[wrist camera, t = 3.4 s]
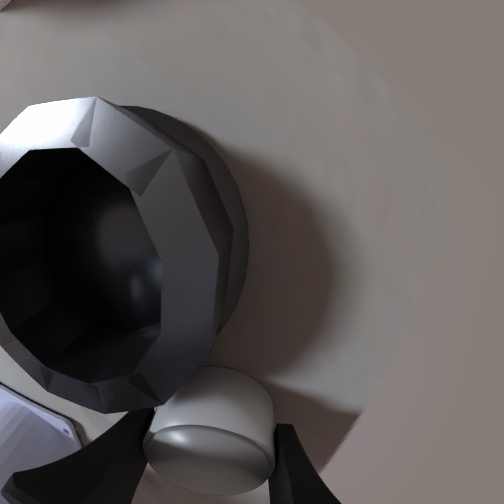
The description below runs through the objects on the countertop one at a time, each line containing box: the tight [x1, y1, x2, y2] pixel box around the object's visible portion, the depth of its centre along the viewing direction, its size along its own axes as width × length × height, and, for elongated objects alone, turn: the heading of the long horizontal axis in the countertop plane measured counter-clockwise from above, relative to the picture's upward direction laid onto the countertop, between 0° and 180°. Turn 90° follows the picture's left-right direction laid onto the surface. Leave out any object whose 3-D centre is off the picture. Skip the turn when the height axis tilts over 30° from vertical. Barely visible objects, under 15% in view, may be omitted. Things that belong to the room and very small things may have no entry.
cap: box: [143, 366, 275, 495], centre depth 10 cm, size 5×5×4 cm
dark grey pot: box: [0, 97, 249, 414], centre depth 8 cm, size 10×10×4 cm
